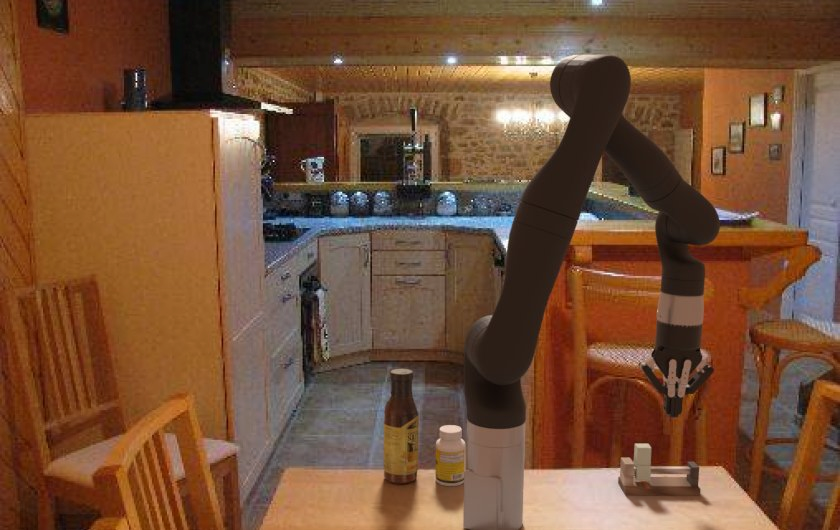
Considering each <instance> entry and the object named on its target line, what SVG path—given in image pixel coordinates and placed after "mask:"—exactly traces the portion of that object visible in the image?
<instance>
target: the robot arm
mask: <svg viewBox="0 0 840 530" xmlns="http://www.w3.org/2000/svg"><path fill="white" fill-rule="evenodd" d="M552 70H553V71H552V73H551V75H550V78H549V79H550V81H549V89H550V95H551V97H552V99H553V101H554V103H555V104H556V106H557V107H558V108H559V109H560V110H561V111H562V112H563V113H564V114H565V115H566V116H567V117H569V121H568V124H567V125H566V129H565V131H564V134H563V136H562V138H561V140H560V142H559V144H558V146H557V147H556V149H555V151H553V152H552V154H551V155H550V157H549V158H548V159H547V160H546V162H544V164H543V165H542V166H541V167H540V169H539V170H538V171H536V173H535V175H534V176H533V177H532V178H531V180H530V181H529V182H528V184H527V185H526V186H525V189H524V191H523V192H522V196H521V198H520V201H519V203H518V206H517V209H516V211H515V214H514V217H513V220H512V223H511V227H510V231H509V233H508V234H509V235H508V242H507V249H506V257H505V261H506V262H505V271H504V280H503V285H502V288H501V291H500V292H501V293H500V296H499V299H498V301H497V304H496V305H495V308H494V311H493V313H492V314H490V315H485V316H482V317H480V318H478V320H476V321H475V322H473V324H472V325H471V326H470V327H469V329H468V331H467V334H466V336H465V340H464V347H463V389H464V390H463V393H464V400H465V404H466V406H465V407H466V441H465V444H466V471H465V472H464V483H463V513H462V514H463V515H462V516H463V517H462V518H463V524H462V525H463V526H462V528H464V529H466V530H520V529H521V528H522V526H523V521H524V520H523V519H524V518H523V515H524V490H525V489H524V482H525V481H524V479H525V452H526V451H525V450H526V419H527V418H526V417H527V416H526V415H527V407H526V401H525V398H524V395H523V390H522V383H521V378H523V376H525V374H526V373H527V372H528V371H529V368H531V365H532V362H533V360H534V356H535V353H536V351H537V345H538V341H539V337H540V333H541V328H542V325H543V324H542V323H543V320H544V316H545V313H546V308H547V306H548V301H549V299H550V296H551V294H552V293H553V290H554V287H555V284H556V282H557V278H558V277H559V273H560V270H561V268H562V266H563V265H562V264H563V262H564V260H565V257H566V254H567V253H568V249H569V248H570V247H569V246H570V244H571V242H572V239H573V236H574V234H575V231H576V228H577V225H578V222H579V220H580V216H581V213H582V210H583V207H584V204H585V201H586V199H587V196H588V193H589V190H590V188H591V185H592V183H593V180H594V177H595V175H596V172H597V169H598V166H599V164H600V161H601V160H602V157H603V154H604V153H605V154H606V155H607V157H609V158H610V159H611V160H612V162H613V163H614V164H615V165H616V166H617V168H618V169H619V170H620V171H621V172H622V174H623V175H624V177H625V178H626V179H627V180H628V182H629V183H630V184H631V186H632V188H634V189H635V191H636V192H637V194H638V195H639V196H640V198H641V199H642V201H643V202H644V203H645V204H646V205H647V206H648V207H649V208H650V209H652V210H654V211H657V212H658V213H657V215H656V218H655V224H654V229H655V230H654V232H655V238H656V244H657V248H658V255H659V259H660V264H661V278H660V279H661V280H660V293H659V298H658V303H657V311H656V327H655V339H654V340H655V341H654V347H653V351H652V352H651V354H650V355H651V356H650V357H649V358H648V359H647V360H645V361H639V362H638V367H639V369H640V370H641V372H642V373H643V374H644V376H645V377H646V378H647V380H648V381H649V382H650V384H651V386H653V388H654V389H655V390H656V391H657V392H658V393H659V394H662V395H664V396H663V409H662V410H663V412H664V413H665V414H666V416H667V417H668V418H671V419H672V418H673V419H674V418H675V419H676V418H677V419H678V418H679V415H681V414H682V412H683V403H684V397H685V396H687V395H694V394H695V393H696V392H697V391H698V390H699V389H700V388H701V386H702V385H704V383H705V382H707V380H708V379H709V378H710V377H711V376H712V374H713V373H714V372H715V367H713V366H712V365H711V364H709V363H707V362H706V361H705V360H704V359H703V353H702V352H701V347H702V339H703V325H704V324H703V323H704V314H705V312H704V311H705V304H704V303H705V302H704V294H705V293H704V292H705V280H706V265H705V264H704V263H703V261H701V260H700V259H698V258H696V257H694V256H693V255H692V254H691V252H690V248H689V245H690V246H695V247H696V246H697V247H698V246H700V247H701V246H706V245H709V244H711V243H713V241H715V240H716V238H717V237H718V235H719V233H720V227H721V226H720V225H721V222H720V215H719V214H718V212H717V210H716V208H715V206H714V205H713V204H712V203H711V201H709V200H708V199H707V198H706V197H705V196H704V195H703V194H701V192H699V191H698V190H697V189H696V188H695V187H693V186H692V184H689V183H688V182H687V181H685V180H684V179H683V177H682V176H681V175H682V174H680V172H679V171H678V169H677V168H676V166H675V165H674V164H673V162H672V161H671V159H670V158H669V156H668V155H667V154H666V153H665V152H664V151H663V150H662V149H661V147H659V146H658V144H656V143H655V142H654V141H652V139H650V138H649V137H648V136H647V135H645V134H644V133H643V132H642V131H640V130H639V129H638V128H637V127H636V126H635V125H633V124H632V123H631V122H630V121H629V120H628V119H627V118H626V117H625V116H624V115H623V112H624V110H625V107H626V105H627V102H628V99H629V96H630V93H631V85H632V84H631V83H632V80H631V79H632V77H631V72H630V69H629V67H628V64H627V63H626V62H625V61H624V60H623V59H622V58H620V57H619V56H616V55H612V54H602V53H601V54H587V53H586V54H583V53H582V54H574V55H570V56H566V57H564V58H562V59H561V60H560V61H559V62H558V63H557V64H556V65H555V67H554V69H552ZM655 365H656V366H657V368H658V370H659V371H660V372H661V374H662V380H663V384H662V383H661V381H660V379H659V378H658V377H657V376H656V374H655V373H654V372H655V371H656V367H655ZM695 370H696V371H695ZM694 371H695V373H693V372H694ZM692 373H693V374H692ZM691 374H692V376H691V377H690V378H689V376H690V375H691Z"/></svg>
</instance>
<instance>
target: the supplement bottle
mask: <svg viewBox="0 0 840 530" xmlns="http://www.w3.org/2000/svg"><path fill="white" fill-rule="evenodd" d="M462 430H463V429H462V428H461V426H459V425H454V424H447V425H446V424H445V425H442V426H440V427H439V438H438V439H437V440H436V441H435V481H436V483H437V484H439V485H441V486H444V485H445V486H446V487H457V486H461V485H462V484H463V485H464V472H465V471H466V441H465V439H463V438H462V437H463V436H462V435H463V431H462Z"/></svg>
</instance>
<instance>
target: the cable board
mask: <svg viewBox="0 0 840 530" xmlns="http://www.w3.org/2000/svg"><path fill="white" fill-rule="evenodd" d="M619 468H620V469H619V476H618V478H617V484H618V485H619V487H620V488H621V490H622V492H623V494H624V495H625V496H701V488H700V486H699V479H700V466H699V465H698V463H696V462H695V461H687V465H686V466H669V465H668V466H663V465H662V466H659V465H658V466H652V465H651V475H686V476H651V477H650V480H636V479H635V477H634V474H636V468H637V467H636V466H634V463H633V460H632V458H631V457H620V467H619Z"/></svg>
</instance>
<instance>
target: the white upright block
mask: <svg viewBox="0 0 840 530" xmlns="http://www.w3.org/2000/svg"><path fill="white" fill-rule="evenodd" d="M633 451H634V453H633V460H632V461H633V463H634V466H636V467H637V468H636V474H634V477H635V479H636V480H650V477H652V474H651V466H652V464H651V463H652V462H651V461H652V446H651V445H650V444H649V443H634V448H633Z"/></svg>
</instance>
